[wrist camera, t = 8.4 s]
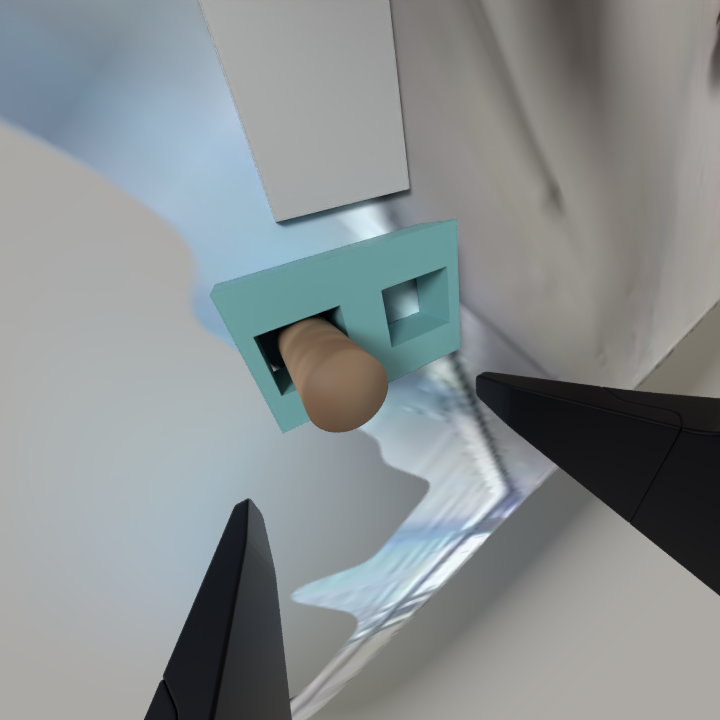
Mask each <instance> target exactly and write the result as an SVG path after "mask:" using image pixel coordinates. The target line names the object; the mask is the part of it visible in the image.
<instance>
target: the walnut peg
mask: <svg viewBox="0 0 720 720" xmlns="http://www.w3.org/2000/svg"><path fill="white" fill-rule="evenodd" d="M274 339H275V342H276V344H277V346H278V349H279V351H280V353H281V355H282V358H283V360H284V362H285V365H286V367H287V369H288V371H289V374H290V376H291V378H292V381H293V383H294V385H295V387H296V390H297V392H298V394H299V397H300V399H301V401H302V403H303V406H304V408H305V410H306V413H307V415H308V417H309V418H310V420H311V421H312V422H313V423H314V424H315V425H316V426H317V427H319V428H320V429H323V430H325V431H328V432H346V431H350V430H353V429H356V428H358V427H360V426H362V425H363V424H365V423H366V422H368V421H369V420H370V419H371V418H372V417H373V416H374V415H375V414H376V413H377V412H378V411H379V409H380V408H381V406H382V404H383V402H384V400H385V398H386V395H387V390H388V378H387V374H386V371H385V369H384V367H383V366H382V364H381V363H380V362H379V361H378V360H376V359H375V358H374V357H373V356H371V355H370V354H369V353H367V352H366V351H365V350H364V349H362V348H361V347H360V346H359V345H357V344H356V343H355V342H354V341H352V340H351V339H350V338H349V337H347V336H346V335H345V334H344V333H342V332H341V331H340V330H338V329H337V328H336V327H335V326H333V325H332V324H331V323H330V322H328V321H327V320H326V319H325V318H323V317H322V316H321V315H320V314H318V313H317V314H315V315H312V316H309V317H306V318H304V319H301V320H298V321H295V322H293V323H290V324H287V325H284V326H282V327H279V328H276V329H274Z"/></svg>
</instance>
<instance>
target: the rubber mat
mask: <svg viewBox="0 0 720 720" xmlns="http://www.w3.org/2000/svg"><path fill="white" fill-rule="evenodd" d="M198 1H199V4H200V7H201V9H202V12H203V15H204V18H205V21H206V24H207V27H208V30H209V32H210V35H211V38H212V41H213V44H214V47H215V50H216V53H217V55H218V58H219V61H220V64H221V67H222V70H223V73H224V76H225V78H226V81H227V84H228V87H229V90H230V93H231V96H232V99H233V101H234V104H235V107H236V110H237V113H238V116H239V119H240V122H241V124H242V127H243V130H244V133H245V136H246V139H247V142H248V145H249V147H250V150H251V153H252V156H253V159H254V162H255V165H256V168H257V170H258V173H259V176H260V179H261V182H262V185H263V188H264V191H265V193H266V196H267V199H268V202H269V205H270V208H271V211H272V214H273V216H274V219H275V222H279V221H283V220H287V219H291V218H295V217H299V216H303V215H307V214H311V213H315V212H319V211H323V210H327V209H331V208H335V207H339V206H343V205H347V204H351V203H355V202H359V201H363V200H367V199H371V198H375V197H379V196H383V195H387V194H391V193H395V192H399V191H403V190H407V189H410V188H409V179H408V169H407V160H406V151H405V142H404V132H403V123H402V114H401V105H400V95H399V86H398V77H397V68H396V58H395V49H394V40H393V31H392V21H391V12H390V3H389V0H198Z"/></svg>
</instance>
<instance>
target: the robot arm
mask: <svg viewBox="0 0 720 720" xmlns="http://www.w3.org/2000/svg"><path fill="white" fill-rule="evenodd" d="M476 394H477V396H478V397H479V398H480V399H481V400H482V401H483V402H484V403H485V404H486V405H487V406H488V407H489V408H490V409H491V410H492V411H493V412H494V413H495V414H496V415H497V416H498V417H499V418H500V419H501V420H502V421H503V422H505V423H506V424H507V425H508V426H509V427H510V428H511V429H513V430H514V431H515V432H516V433H518V434H519V435H520V436H521V437H523V438H524V439H525V440H526V441H528V442H529V443H530V444H531V445H533V446H534V447H535V448H536V449H538V450H539V451H540V452H541V453H543V454H544V455H545V456H546V457H548V458H549V459H550V460H551V461H552V462H554V463H555V464H556V465H557V466H559V467H560V468H561V469H562V470H564V471H565V472H566V473H567V474H569V475H570V476H571V477H572V478H574V479H575V480H576V481H577V482H579V483H580V484H581V485H583V486H584V487H585V488H586V489H587V490H589V491H590V492H591V493H592V494H594V495H595V496H596V497H597V498H599V499H600V500H601V501H602V502H604V503H605V504H606V505H607V506H609V507H610V508H611V509H613V510H614V511H615V512H616V513H617V514H619V515H620V516H621V517H622V518H624V519H625V520H626V521H627V522H630V524H631V525H632V526H633V527H635V528H636V529H637V530H638V531H640V532H641V533H642V534H643V535H645V536H646V537H647V538H648V539H649V540H651V541H652V542H653V543H654V544H656V545H657V546H658V547H659V548H661V549H662V550H663V551H664V552H666V553H667V554H668V555H669V556H671V557H672V558H673V559H674V560H676V561H677V562H678V563H679V564H681V565H682V566H683V567H684V568H686V569H687V570H688V571H689V572H691V573H692V574H693V575H694V576H696V577H697V578H698V579H699V580H701V581H702V582H703V583H704V584H706V585H707V586H708V587H709V588H710V589H712V590H713V591H714V592H716V593H717V594H718V595H719V596H720V398H710V397H698V396H686V395H674V394H663V393H652V392H641V391H633V390H624V389H616V388H608V387H600V386H593V385H585V384H578V383H570V382H562V381H554V380H547V379H539V378H531V377H524V376H516V375H508V374H501V373H493V372H483V373H481V374H480V375H478V376H477V377H476ZM285 664H286V663H285V654H284V645H283V636H282V627H281V618H280V609H279V600H278V591H277V583H276V574H275V568H274V564H273V559H272V555H271V550H270V546H269V541H268V537H267V532H266V528H265V523H264V519H263V516H262V514H261V512H260V511H259V509H258V508H257V507H256V506H255V504H254V503H253V501H252V500H251V499H246V500H244V501H242V502H240V503H238V504H236V505H235V507H234V509H233V511H232V513H231V516H230V518H229V521H228V523H227V525H226V527H225V530H224V532H223V535H222V537H221V539H220V542H219V544H218V546H217V549H216V552H215V554H214V556H213V559H212V561H211V563H210V565H209V568H208V570H207V572H206V575H205V577H204V579H203V582H202V585H201V587H200V589H199V592H198V594H197V596H196V598H195V601H194V603H193V606H192V608H191V610H190V613H189V615H188V618H187V620H186V622H185V625H184V627H183V629H182V632H181V634H180V636H179V639H178V641H177V643H176V646H175V648H174V651H173V653H172V655H171V658H170V660H169V662H168V665H167V667H166V669H165V672H164V674H163V680H161V682H160V683H159V686H158V688H157V690H156V693H155V695H154V697H153V700H152V702H151V704H150V707H149V710H148V712H147V714H146V716H145V718H144V720H292V718H291V708H290V699H289V690H288V681H287V672H286V665H285Z"/></svg>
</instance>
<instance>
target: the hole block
mask: <svg viewBox="0 0 720 720" xmlns="http://www.w3.org/2000/svg"><path fill="white" fill-rule="evenodd" d="M413 278H416V284H417V293H418V301H419V310H420V312H417V313H415V314H413V315H410V316H408V317H405V318H403V319H400V320H398V321H396V322H393V323H391V324H388V325H387V319H386V314H385V308H384V303H383V298H382V292H381V290H383V289H386V288H389V287H391V286H394V285H397V284H399V283H402V282H405V281H408V280H410V279H413ZM210 297H211V299H212V301H213V303H214V304H215V306H216V308H217V310H218V312H219V314H220V316H221V318H222V319H223V321H224V323H225V325H226V327H227V329H228V331H229V333H230V335H231V336H232V338H233V340H234V342H235V344H236V346H237V348H238V350H239V352H240V353H241V355H242V357H243V359H244V361H245V363H246V365H247V366H248V369H249V370H250V372H251V374H252V376H253V378H254V380H255V382H256V384H257V386H258V387H259V389H260V391H261V393H262V395H263V397H264V399H265V401H266V403H267V404H268V406H269V408H270V410H271V412H272V414H273V416H274V418H275V419H276V421H277V423H278V425H279V427H280V429H281V431H282V433H285V432H287V431H289V430H291V429H293V428H295V427H298V426H299V425H302V424H304V423H306V422H308V421H310V418H309V417H308V415H307V413H306V410H305V408H304V406H303V403H302V401H301V399H300V397H299V394H298V392H297V390H296V387H295V385H294V383H293V381H292V378H291V376H290V374H289V371H288V369H287V367H284V368H281V369H279V370H276V371H273V369H272V367H271V365H270V363H269V360H268V358H267V356H266V354H265V352H264V350H263V348H262V346H261V344H260V341H259V339H258V337H257V335H260V334H263V333H265V332H268V331H271V330H274V329H276V328H279V327H282V326H284V325H287V324H290V323H293V322H295V321H298V320H301V319H304V318H306V317H309V316H312V315H315V314H317V313H320V312H323V311H327V314H328V317H329V321H330V323H331V324H332V325H333V326H335V327H336V328H337V329H338V330H340V331H341V332H342V333H344V334H345V335H346V336H347V337H349V338H350V339H351V340H352V341H354V342H355V343H356V344H357V345H359V346H360V347H361V348H362V349H364V350H365V351H366V352H367V353H369V354H370V355H371V356H373V357H374V358H375V359H376V360H378V361H379V362H380V363H381V364H382V366H383V367H384V369H385V371H386V374H387V378H388V383H389V382H391V381H393V380H395V379H397V378H399V377H401V376H403V375H405V374H407V373H410V372H412V371H414V370H416V369H418V368H420V367H422V366H424V365H426V364H428V363H430V362H432V361H434V360H437V359H439V358H441V357H443V356H445V355H447V354H449V353H451V352H453V351H455V350H457V349H459V348H461V341H460V311H459V280H458V249H457V219H455V220H446V221H438V222H430V223H422V224H417V225H414V226H411V227H407V228H404V229H401V230H397V231H394V232H391V233H387V234H384V235H381V236H377V237H374V238H371V239H367V240H364V241H360V242H357V243H354V244H350V245H347V246H344V247H340V248H337V249H334V250H330V251H327V252H324V253H320V254H317V255H314V256H310V257H307V258H303V259H300V260H297V261H293V262H290V263H287V264H283V265H280V266H277V267H273V268H270V269H267V270H263V271H260V272H257V273H253V274H250V275H247V276H243V277H240V278H236V279H233V280H230V281H226V282H223V283H220V284H216V285H214V287H213V289H212V291H211V293H210Z"/></svg>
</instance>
